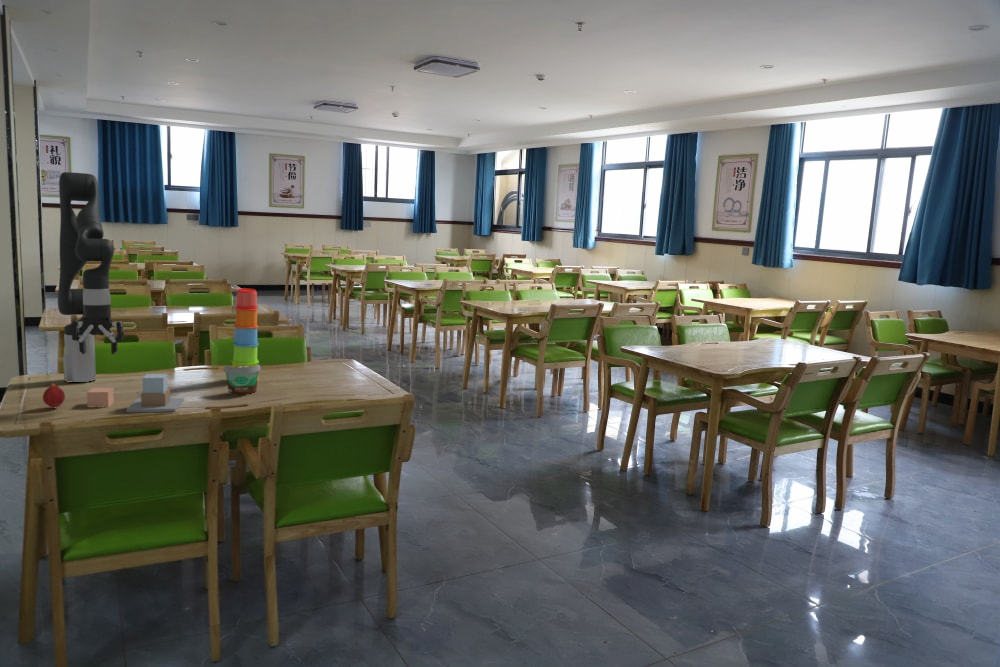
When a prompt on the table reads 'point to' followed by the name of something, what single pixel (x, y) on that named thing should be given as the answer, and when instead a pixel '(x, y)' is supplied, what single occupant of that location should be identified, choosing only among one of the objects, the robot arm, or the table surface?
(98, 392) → the brick
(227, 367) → the food container
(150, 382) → the brick
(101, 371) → the table surface
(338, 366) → the table surface
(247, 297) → the stacking cups
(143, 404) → the tower base
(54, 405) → the onion
